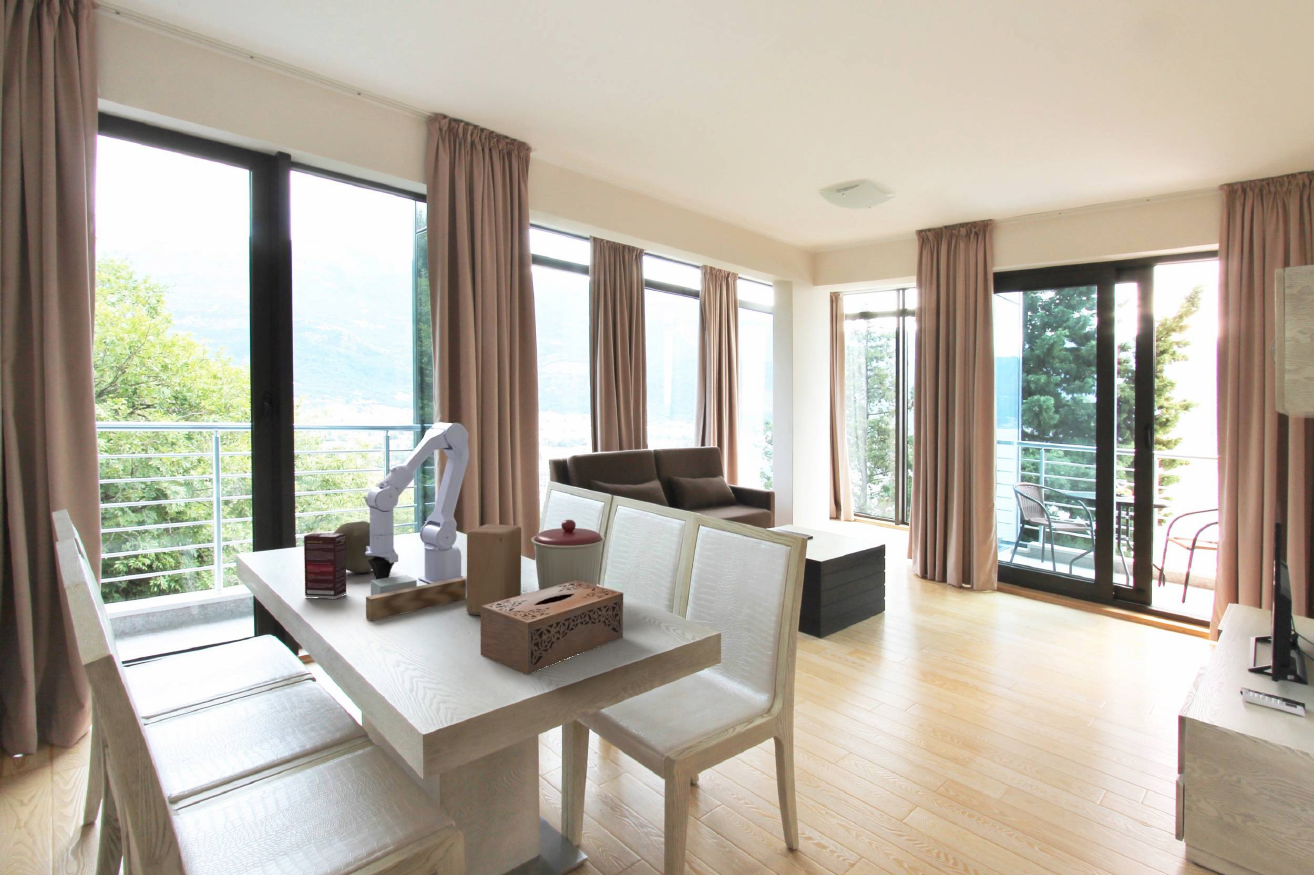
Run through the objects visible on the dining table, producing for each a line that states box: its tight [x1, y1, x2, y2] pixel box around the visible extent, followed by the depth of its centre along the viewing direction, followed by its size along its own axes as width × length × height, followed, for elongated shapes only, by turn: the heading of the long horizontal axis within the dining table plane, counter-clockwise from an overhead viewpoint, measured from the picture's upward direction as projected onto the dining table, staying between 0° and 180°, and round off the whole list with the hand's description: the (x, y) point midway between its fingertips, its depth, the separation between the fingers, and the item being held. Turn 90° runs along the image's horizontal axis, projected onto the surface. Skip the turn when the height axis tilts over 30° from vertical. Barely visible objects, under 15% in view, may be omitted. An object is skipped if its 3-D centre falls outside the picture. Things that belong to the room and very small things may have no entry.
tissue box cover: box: [480, 580, 624, 675], centre depth 132 cm, size 26×14×10 cm, turn 140°
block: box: [370, 574, 418, 596], centre depth 163 cm, size 9×7×4 cm
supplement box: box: [303, 532, 347, 600], centre depth 162 cm, size 9×5×16 cm, turn 84°
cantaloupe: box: [333, 520, 374, 574], centre depth 185 cm, size 14×14×15 cm
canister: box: [530, 519, 606, 591], centre depth 160 cm, size 18×18×21 cm
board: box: [365, 578, 467, 622], centre depth 155 cm, size 24×2×5 cm, turn 137°
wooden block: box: [466, 523, 522, 616], centre depth 154 cm, size 10×10×20 cm
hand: (381, 585), depth 168 cm, fingers closed
